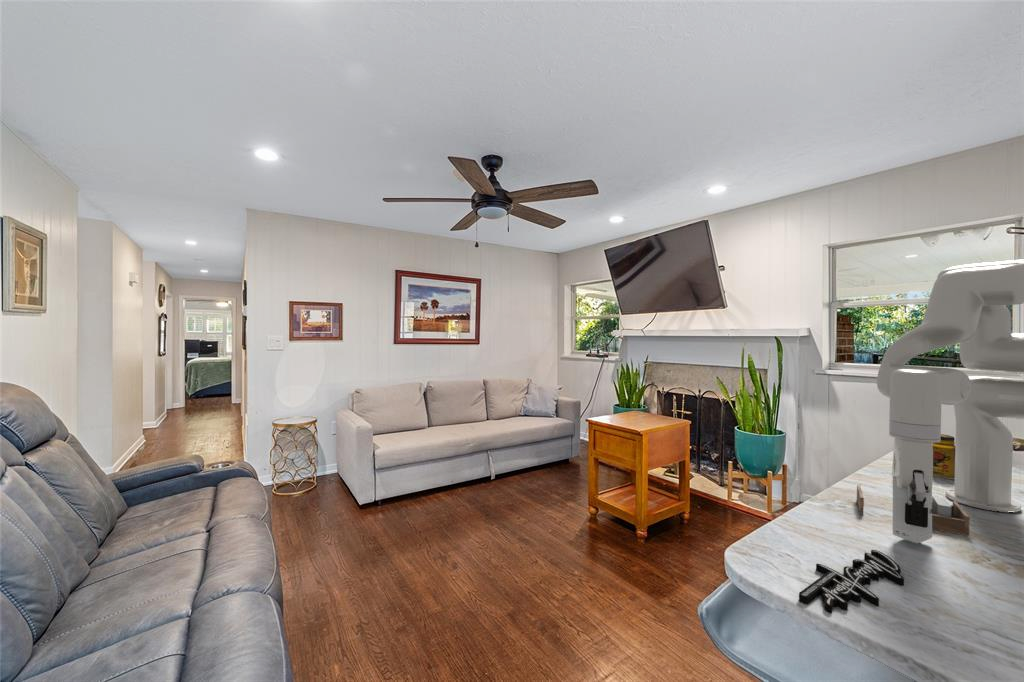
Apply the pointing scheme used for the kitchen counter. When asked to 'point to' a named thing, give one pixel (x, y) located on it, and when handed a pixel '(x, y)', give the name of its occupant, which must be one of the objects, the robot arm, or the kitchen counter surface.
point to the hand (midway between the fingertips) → (912, 517)
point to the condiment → (944, 457)
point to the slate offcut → (940, 507)
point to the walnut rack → (937, 517)
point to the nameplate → (852, 581)
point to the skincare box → (899, 524)
